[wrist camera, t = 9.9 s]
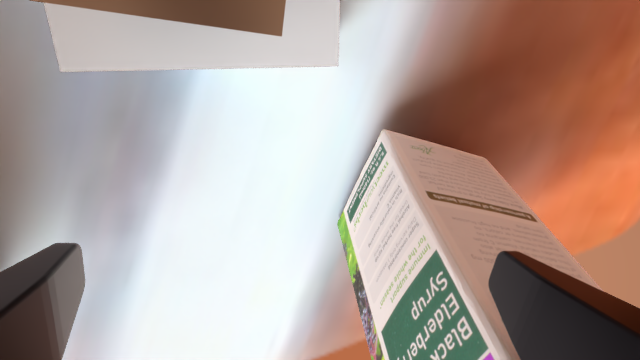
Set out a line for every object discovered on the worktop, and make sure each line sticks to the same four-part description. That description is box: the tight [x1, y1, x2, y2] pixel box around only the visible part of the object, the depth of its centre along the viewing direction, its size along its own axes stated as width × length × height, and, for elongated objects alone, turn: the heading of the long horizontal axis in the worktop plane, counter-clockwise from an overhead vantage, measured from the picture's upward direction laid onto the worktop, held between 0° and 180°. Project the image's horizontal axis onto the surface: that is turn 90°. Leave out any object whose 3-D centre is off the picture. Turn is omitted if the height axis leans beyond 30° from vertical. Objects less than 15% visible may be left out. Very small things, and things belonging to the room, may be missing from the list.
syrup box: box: [337, 129, 603, 360], centre depth 15 cm, size 6×6×14 cm
